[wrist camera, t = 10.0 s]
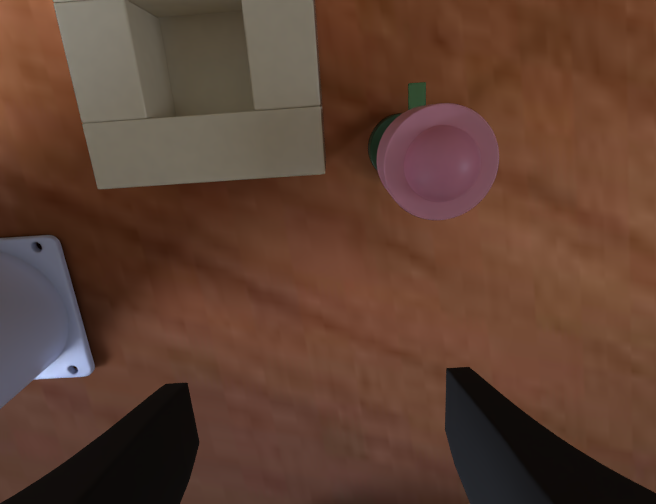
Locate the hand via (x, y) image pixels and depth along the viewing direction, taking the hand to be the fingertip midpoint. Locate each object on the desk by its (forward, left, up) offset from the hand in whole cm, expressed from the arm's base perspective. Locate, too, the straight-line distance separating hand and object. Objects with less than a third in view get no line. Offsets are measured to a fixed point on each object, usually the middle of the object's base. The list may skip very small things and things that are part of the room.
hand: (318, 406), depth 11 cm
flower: (+4, +6, -10) cm, 13 cm away
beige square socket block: (-4, +10, -10) cm, 15 cm away
